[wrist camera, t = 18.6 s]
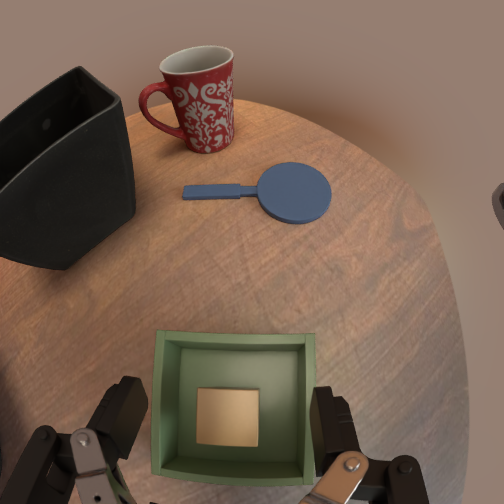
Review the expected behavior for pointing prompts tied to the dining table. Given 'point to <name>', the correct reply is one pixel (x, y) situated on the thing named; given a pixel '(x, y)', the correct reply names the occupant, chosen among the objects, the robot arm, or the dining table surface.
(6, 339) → the dining table surface
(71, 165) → the flower pot
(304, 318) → the dining table surface
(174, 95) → the mug
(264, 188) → the blue ping pong paddle
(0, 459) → the bowl
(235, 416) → the wooden block
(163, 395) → the green storage bin
